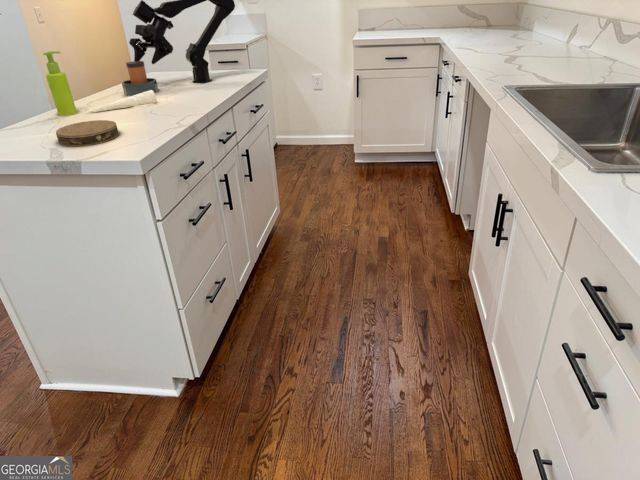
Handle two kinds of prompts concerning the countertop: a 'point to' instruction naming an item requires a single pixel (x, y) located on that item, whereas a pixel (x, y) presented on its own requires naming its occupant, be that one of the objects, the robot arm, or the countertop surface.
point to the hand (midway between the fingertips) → (143, 63)
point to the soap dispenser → (59, 87)
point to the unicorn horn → (129, 101)
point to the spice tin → (137, 72)
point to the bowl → (139, 87)
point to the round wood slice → (87, 133)
